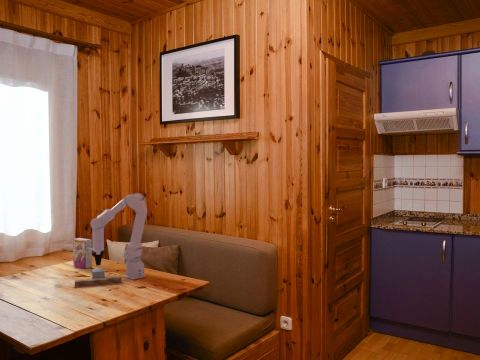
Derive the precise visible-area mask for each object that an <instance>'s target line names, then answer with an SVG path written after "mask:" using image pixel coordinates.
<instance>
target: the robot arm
mask: <svg viewBox="0 0 480 360" xmlns="http://www.w3.org/2000/svg"><path fill="white" fill-rule="evenodd" d="M125 207H129V208H130V209H133V211H134V212H135V218H134V221H133V227H132V233H131V237H130V240H129V241H130V242H129V243H128V244H127V246H126V249H125V250H124V253H123V256H124V259H125V260H126V261H125V262H126V263H125V265H126V267H125V268H126V269H125V271H126V273H125V275H123V277H122V278H127V279H130V280H137V279H141V278H142V279H143V278H145V277H146V275H145V263H144V262H143V261H142V260H141V256H142V255H143V249H142V247H143V244H142V243H141V242H142V237H143V233H144V228H145V223H146V219H147V215H148V208H147V204H146V198H145V196H144V195H143V194H142V193H140V192H136V193H131V194H128V195H126V196H125V197H123V198H122V199H121V200H120V201H119V202H117V204H115V206H113V207H112V208H110V209H109V208H107V209H103V212H102V213H101V214H98V215H97V217H94V218H92V219H91V221H90V228H91V229H92V248H91V249H90V250H92V256H93V257H94V261H95V265H96V266H101V263H102V258H103V255H104V253H105V252H104V250H105V248H104V247H105V242H104V241H105V239H104V238H105V237H104V236H105V235H104V233H105V231H104V230H105V227H106V225H107V224H108V223H109V222H110V221H111V220H113V219H115V217H116V214H117V213H119V212H120V211H122V210H123V209H124V208H125Z"/></svg>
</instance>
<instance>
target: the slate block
mask: <svg viewBox="0 0 480 360" xmlns="http://www.w3.org/2000/svg"><path fill="white" fill-rule="evenodd" d="M105 269H106V268H103V267H102V268H92V270H91V279H98V278H106V277H105V273H106V272H105Z"/></svg>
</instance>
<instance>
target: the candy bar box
mask: <svg viewBox="0 0 480 360" xmlns="http://www.w3.org/2000/svg"><path fill="white" fill-rule="evenodd" d="M91 248H93V239H90V238H83V237H82V238H81V237H77V238H73V239H72V251H73V253H72V255H73V258H72V259H73V267H74V266H76V267H75V268H78V267H80V268H79V269H83V268H85V269H84V270H87V269H86V268H88V269H91V268H90V267H92V268H93V250H90V249H91Z"/></svg>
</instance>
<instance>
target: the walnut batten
mask: <svg viewBox="0 0 480 360" xmlns="http://www.w3.org/2000/svg"><path fill="white" fill-rule="evenodd" d="M122 279H123V277H122V276H112V277H105V278H98V279H92V278H88V279H76V280H74V288H79V287H80V288H81V287H91V286H93V287H94V286H101V285H103V286H104V285H115V284H122Z"/></svg>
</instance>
